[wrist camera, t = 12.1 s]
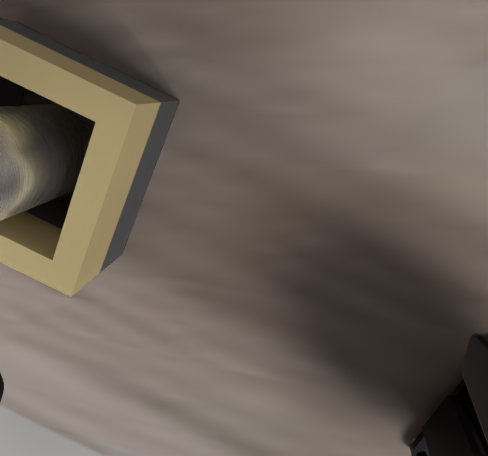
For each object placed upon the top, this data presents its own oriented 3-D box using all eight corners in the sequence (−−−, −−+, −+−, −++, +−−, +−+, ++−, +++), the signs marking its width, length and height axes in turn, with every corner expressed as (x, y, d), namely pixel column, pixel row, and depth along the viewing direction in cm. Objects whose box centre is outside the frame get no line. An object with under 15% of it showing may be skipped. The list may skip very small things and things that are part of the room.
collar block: (179, 100, 20) (136, 104, 15) (122, 253, 23) (71, 297, 18) (14, 21, 20) (-78, 1, 15) (-22, 183, 23) (-110, 208, 18)
